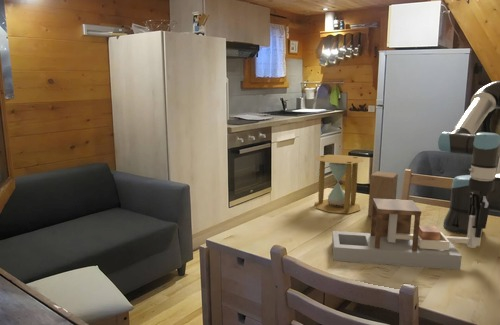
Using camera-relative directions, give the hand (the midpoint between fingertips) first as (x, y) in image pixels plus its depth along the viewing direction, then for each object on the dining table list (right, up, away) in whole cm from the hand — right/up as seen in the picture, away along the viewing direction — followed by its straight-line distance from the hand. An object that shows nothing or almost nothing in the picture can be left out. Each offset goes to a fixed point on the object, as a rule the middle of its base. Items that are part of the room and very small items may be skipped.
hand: (473, 243), depth 146 cm
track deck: (-27, -5, +5) cm, 28 cm away
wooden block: (-17, +3, +50) cm, 52 cm away
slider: (-14, -1, +2) cm, 14 cm away
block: (-15, -1, +3) cm, 15 cm away
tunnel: (-27, -1, +4) cm, 27 cm away
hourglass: (-35, +6, +62) cm, 72 cm away
